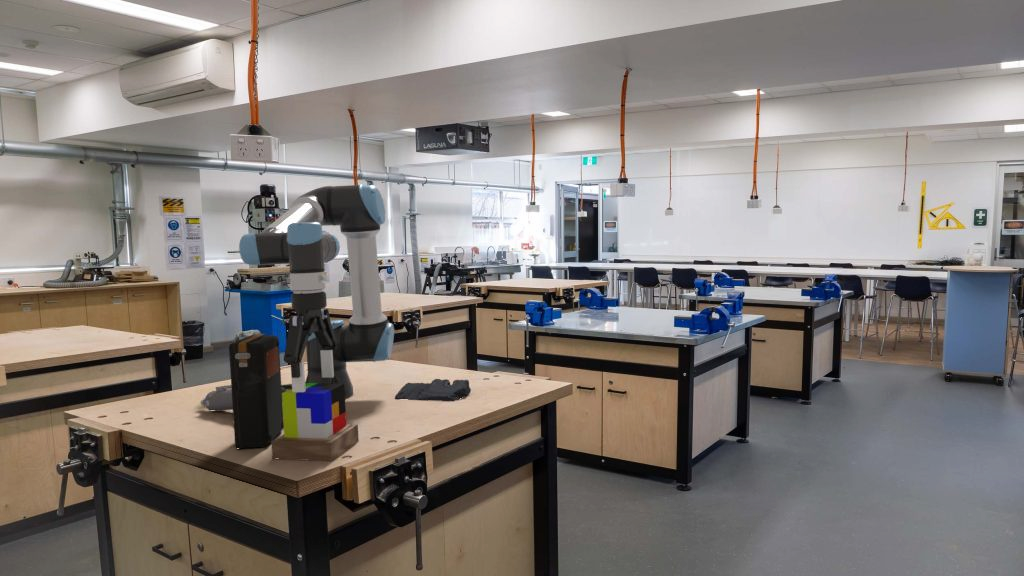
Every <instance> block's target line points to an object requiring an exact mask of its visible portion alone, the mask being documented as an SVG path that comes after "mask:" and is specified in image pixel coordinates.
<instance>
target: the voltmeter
mask: <svg viewBox="0 0 1024 576" xmlns="http://www.w3.org/2000/svg"><path fill="white" fill-rule="evenodd" d="M228 352H229V353H228V354H229V368H230V371H229V372H230V385H231V388H230V389H232V403H233V409H232V418H233V432H234V434H233V435H234V447H235V449H237V448H241V449H245V448H244V447H250V448H264V447H267V446H268V445H269V444H270V443H271V441H273V440H274V439H276V438H277V436H278V435H279V434H280V433H281V432H282V430H284V421H283V404H282V388H281V385H282V377H281V376H282V374H281V358H280V355H281V354H280V340H279V337H278V336H277V335H275V334H273V335H272V334H271V335H266V334H265V333H261V334H257V335H255V336H254V335H250V336H248V337H245V338H243V339H241V340H238V341H236V342H234V343H233V342H232V343H230V344H229V345H228Z"/></svg>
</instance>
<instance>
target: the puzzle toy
mask: <svg viewBox="0 0 1024 576" xmlns="http://www.w3.org/2000/svg"><path fill="white" fill-rule="evenodd" d="M305 388H306V391H305V392H292V389H290V390H288V391H286V392H283V393H282V405H283V422H284V427H283V434H284V437H285V438H319V439H326V438H328V437H329V436H331V435H333V434H334V433H336V432H337V431H339V430H340V429H342V428H344V427H345V426H346V424H347V413H346V410H347V409H346V408H347V407H346V398H345V387H344V384H335V383H305Z"/></svg>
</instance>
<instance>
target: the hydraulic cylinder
mask: <svg viewBox="0 0 1024 576" xmlns="http://www.w3.org/2000/svg"><path fill="white" fill-rule="evenodd" d="M281 388H282V393H283V392H286V391H288V390H290V389H292V383H287V384H281ZM200 404H201V405H202V406H203V407H205V408H206V410H208V411H210V410H223V411H230V410H232V411H233V403H232V388H231V384H227V385H220V386H215V390H211V391H209V392H208V393H207V394H206V395H205V397H204V398H202V400H201V401H200Z"/></svg>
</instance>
